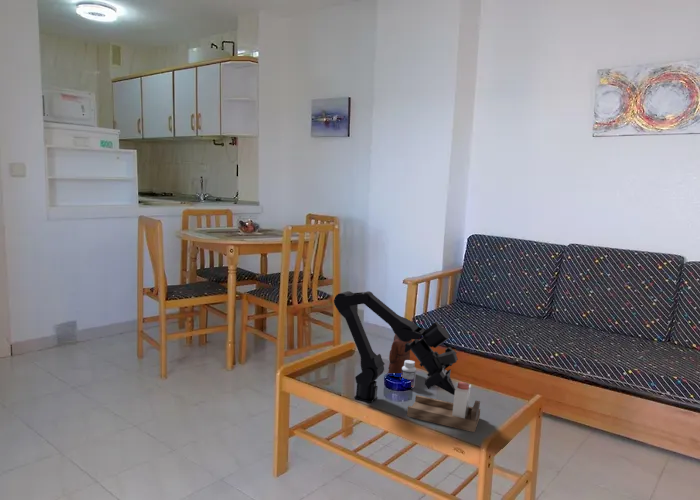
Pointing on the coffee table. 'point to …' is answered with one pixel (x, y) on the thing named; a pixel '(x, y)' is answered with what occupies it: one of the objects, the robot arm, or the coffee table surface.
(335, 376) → the coffee table surface
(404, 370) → the pill bottle
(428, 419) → the wooden tray
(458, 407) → the white carton
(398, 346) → the wooden figurine
